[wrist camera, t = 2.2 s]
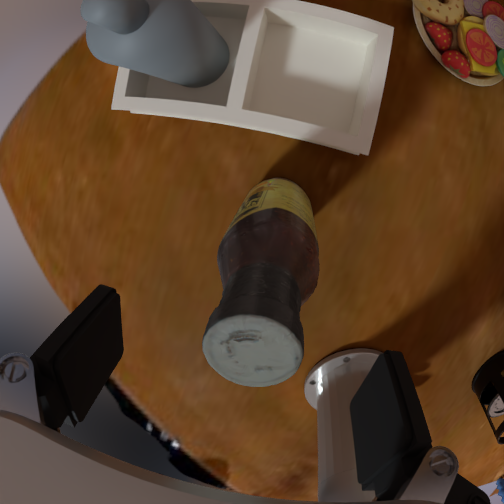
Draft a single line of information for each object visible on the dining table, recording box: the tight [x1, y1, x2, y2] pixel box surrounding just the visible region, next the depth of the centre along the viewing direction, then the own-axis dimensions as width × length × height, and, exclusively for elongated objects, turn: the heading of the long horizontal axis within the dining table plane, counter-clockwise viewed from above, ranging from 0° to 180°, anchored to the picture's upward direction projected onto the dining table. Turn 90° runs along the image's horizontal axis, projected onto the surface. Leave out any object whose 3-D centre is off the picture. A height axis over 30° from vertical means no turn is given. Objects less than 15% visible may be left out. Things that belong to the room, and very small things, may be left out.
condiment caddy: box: [81, 0, 394, 155], centre depth 17 cm, size 22×12×17 cm, turn 79°
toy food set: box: [412, 0, 504, 86], centre depth 18 cm, size 13×13×3 cm
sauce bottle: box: [202, 177, 319, 387], centre depth 20 cm, size 7×6×20 cm
